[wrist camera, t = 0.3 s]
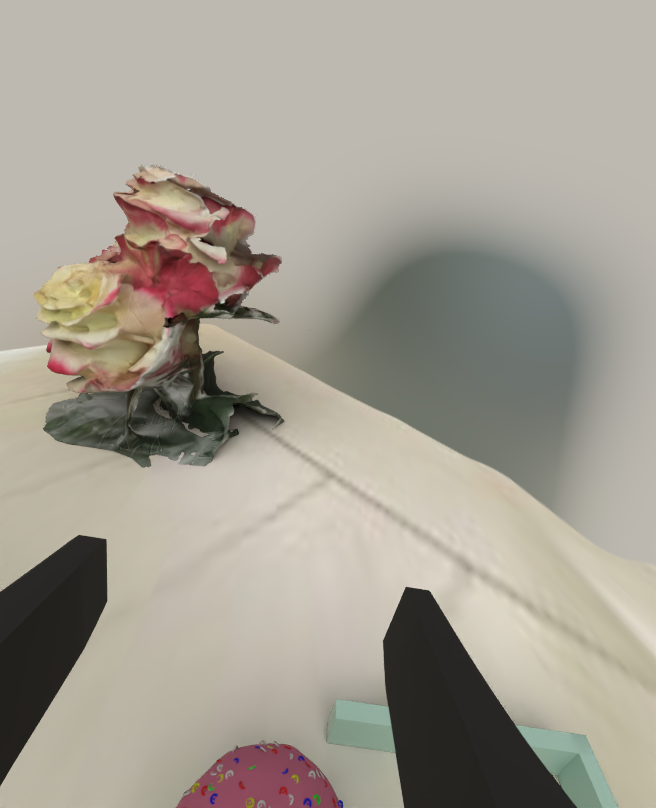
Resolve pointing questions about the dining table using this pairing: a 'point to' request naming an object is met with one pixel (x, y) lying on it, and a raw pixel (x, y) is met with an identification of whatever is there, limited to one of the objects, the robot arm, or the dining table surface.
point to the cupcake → (262, 781)
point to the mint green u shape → (553, 748)
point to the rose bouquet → (153, 323)
